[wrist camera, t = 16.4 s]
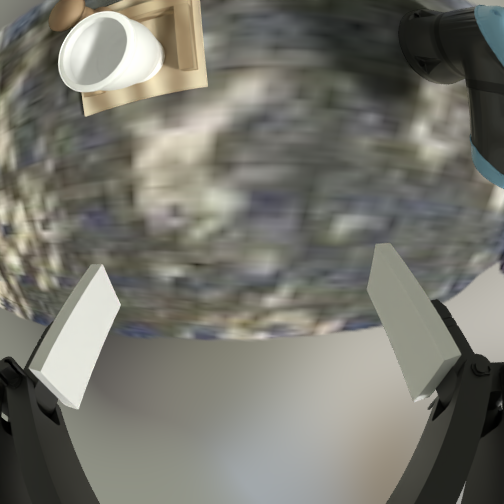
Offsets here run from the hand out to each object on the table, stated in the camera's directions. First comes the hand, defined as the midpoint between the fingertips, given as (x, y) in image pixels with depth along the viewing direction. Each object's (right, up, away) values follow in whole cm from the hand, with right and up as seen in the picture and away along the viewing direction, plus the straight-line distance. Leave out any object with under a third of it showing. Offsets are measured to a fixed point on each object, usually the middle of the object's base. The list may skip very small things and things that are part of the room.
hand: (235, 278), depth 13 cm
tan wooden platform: (-18, +34, +19) cm, 43 cm away
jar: (-17, +31, +20) cm, 41 cm away
